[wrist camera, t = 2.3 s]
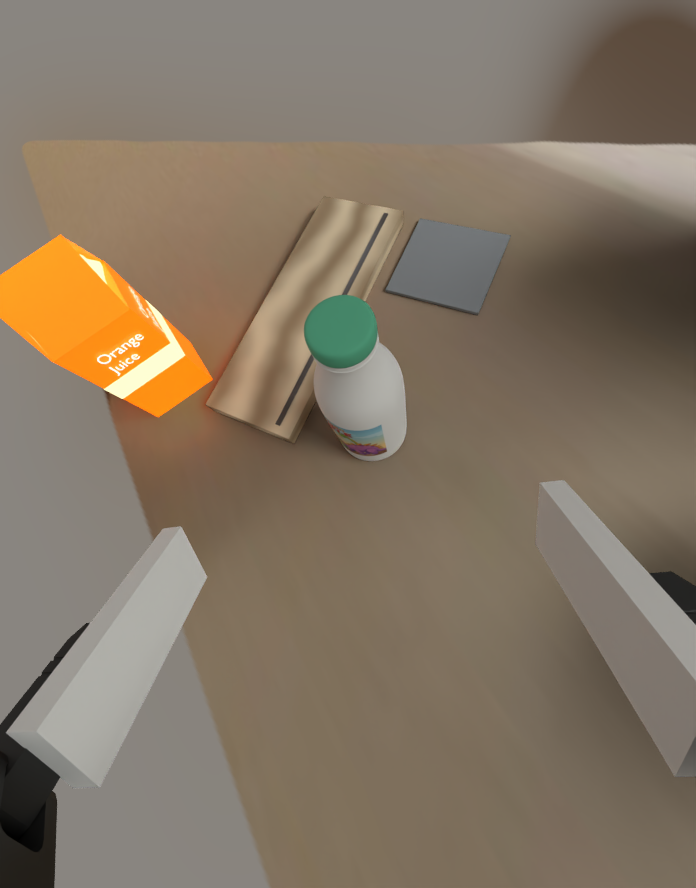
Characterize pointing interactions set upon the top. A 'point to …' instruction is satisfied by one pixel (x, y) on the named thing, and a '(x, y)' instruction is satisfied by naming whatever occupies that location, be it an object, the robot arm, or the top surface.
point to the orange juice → (99, 327)
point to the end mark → (448, 265)
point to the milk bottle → (356, 378)
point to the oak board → (303, 315)
